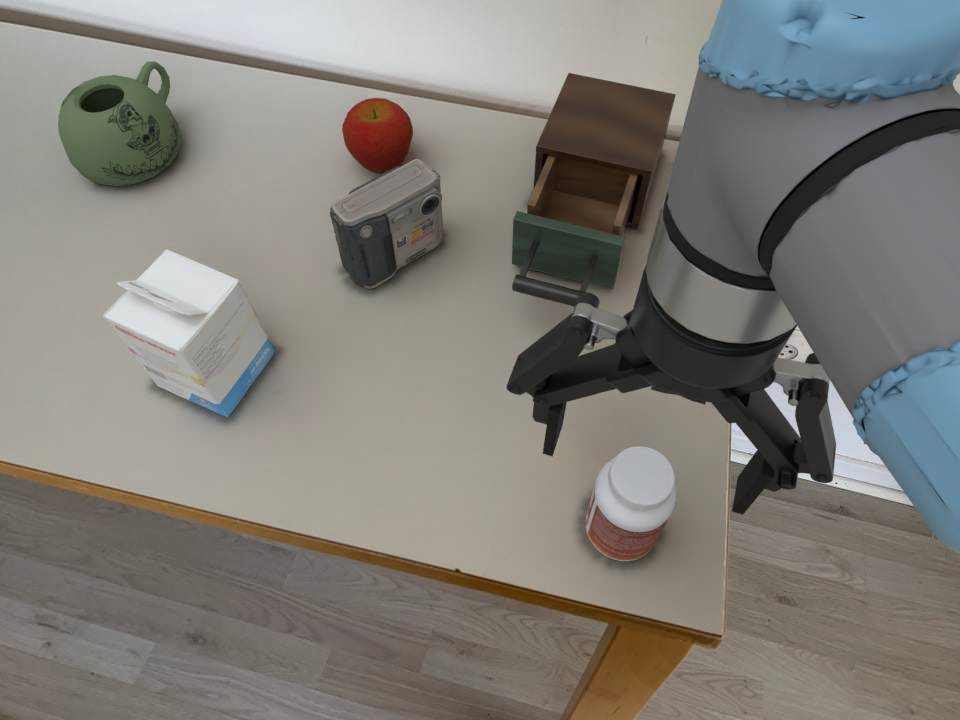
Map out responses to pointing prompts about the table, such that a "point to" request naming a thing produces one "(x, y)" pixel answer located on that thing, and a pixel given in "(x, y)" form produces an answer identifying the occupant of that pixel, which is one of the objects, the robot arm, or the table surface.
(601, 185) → the drawer
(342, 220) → the camera
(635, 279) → the table surface
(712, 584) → the table surface
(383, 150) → the apple
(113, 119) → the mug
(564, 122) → the cabinet
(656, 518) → the pill bottle
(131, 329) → the ink box
